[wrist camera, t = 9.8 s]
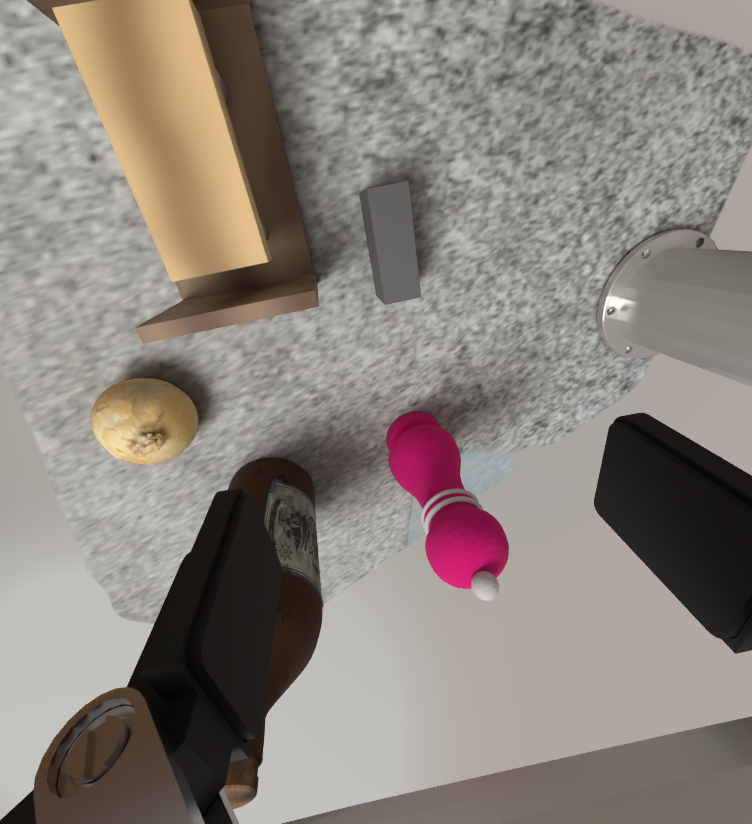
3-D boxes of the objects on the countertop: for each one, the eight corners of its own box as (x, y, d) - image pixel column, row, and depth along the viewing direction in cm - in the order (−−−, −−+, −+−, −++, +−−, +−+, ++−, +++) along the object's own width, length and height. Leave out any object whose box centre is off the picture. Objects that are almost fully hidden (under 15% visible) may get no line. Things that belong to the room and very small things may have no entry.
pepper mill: (453, 415, 40) (564, 563, 22) (429, 466, 43) (511, 634, 25) (394, 400, 38) (465, 552, 20) (373, 455, 40) (419, 630, 23)
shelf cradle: (245, -11, 22) (201, -163, 14) (317, 283, 31) (318, 306, 22) (68, 18, 22) (-98, -123, 13) (192, 310, 30) (143, 343, 22)
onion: (165, 455, 36) (135, 502, 30) (92, 402, 33) (41, 443, 27) (222, 410, 35) (202, 450, 29) (153, 350, 32) (114, 380, 25)
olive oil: (272, 538, 44) (231, 847, 22) (202, 490, 39) (62, 826, 17) (338, 491, 42) (364, 777, 20) (273, 435, 37) (217, 731, 15)
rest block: (395, 187, 29) (408, 180, 25) (408, 288, 32) (421, 297, 28) (359, 194, 28) (366, 188, 24) (376, 295, 32) (385, 304, 28)
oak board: (198, 13, 18) (184, -15, 16) (272, 259, 24) (268, 262, 22) (82, 33, 18) (51, 7, 16) (184, 277, 24) (172, 282, 22)
